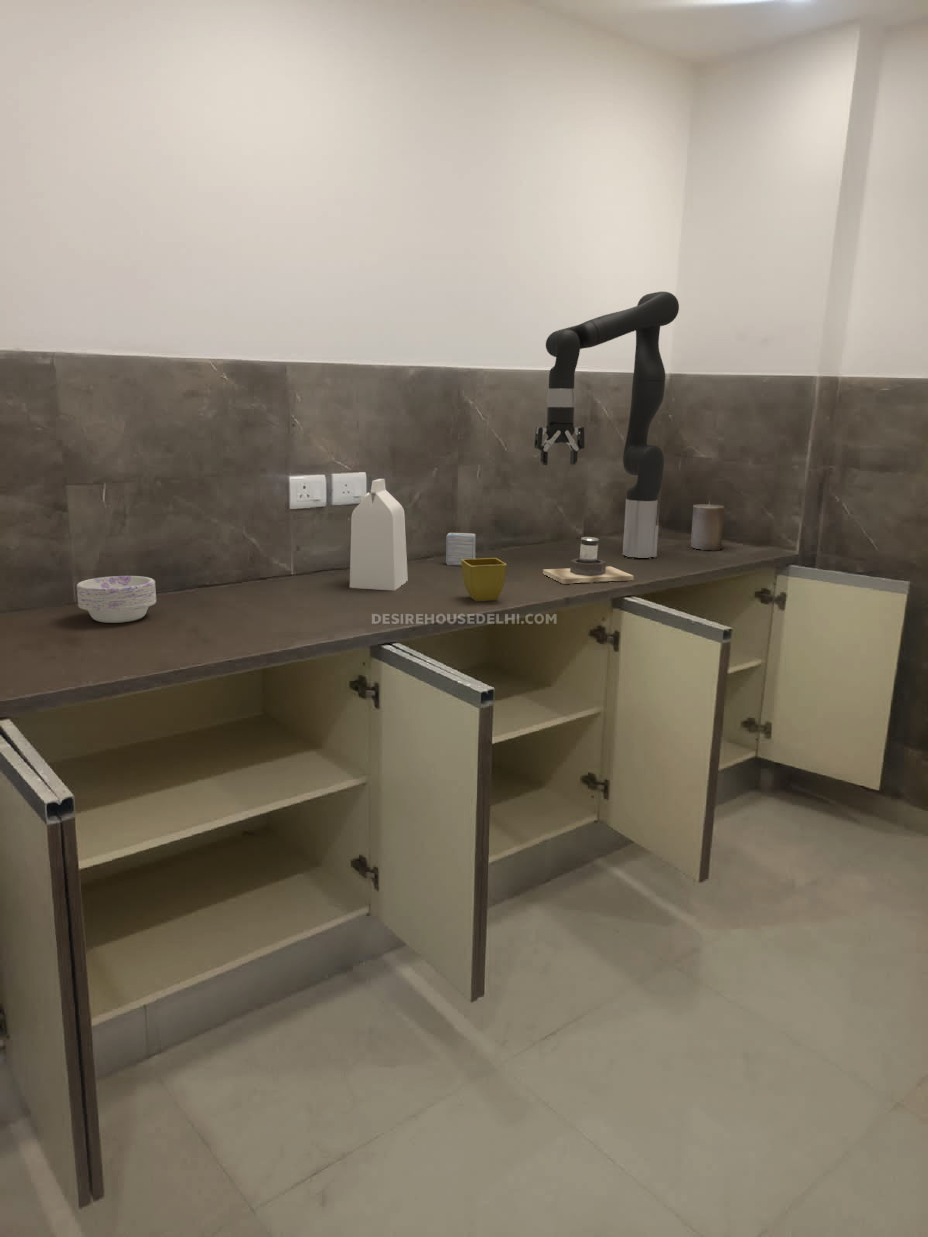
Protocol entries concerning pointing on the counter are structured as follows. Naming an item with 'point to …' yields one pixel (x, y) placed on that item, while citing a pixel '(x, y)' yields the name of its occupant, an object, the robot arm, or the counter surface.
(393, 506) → the milk
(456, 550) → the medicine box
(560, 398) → the robot arm
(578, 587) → the counter surface
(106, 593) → the paper bowls
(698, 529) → the pillar candle
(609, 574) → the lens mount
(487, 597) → the flower pot
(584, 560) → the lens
